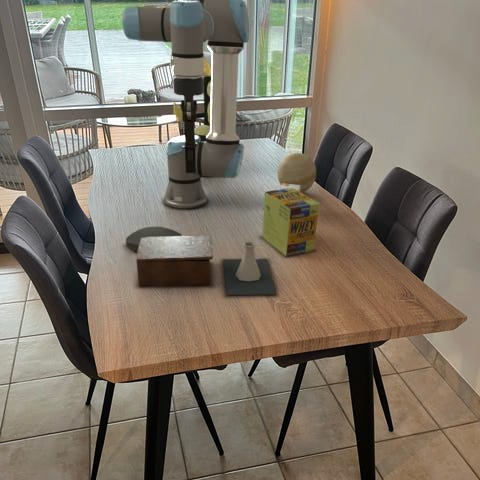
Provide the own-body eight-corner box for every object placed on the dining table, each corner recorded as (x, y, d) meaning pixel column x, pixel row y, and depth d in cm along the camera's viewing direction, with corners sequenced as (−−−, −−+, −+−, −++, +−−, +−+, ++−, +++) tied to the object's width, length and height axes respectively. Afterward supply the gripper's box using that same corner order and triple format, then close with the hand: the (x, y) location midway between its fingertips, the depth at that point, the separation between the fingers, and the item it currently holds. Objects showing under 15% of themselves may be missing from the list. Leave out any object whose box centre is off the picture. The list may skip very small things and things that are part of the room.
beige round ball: (321, 195, 198) (326, 157, 189) (288, 201, 192) (291, 161, 183) (301, 183, 209) (304, 146, 200) (269, 188, 203) (271, 150, 194)
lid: (211, 237, 145) (211, 235, 145) (212, 259, 134) (212, 256, 134) (140, 239, 144) (140, 237, 143) (136, 261, 133) (136, 259, 133)
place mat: (223, 260, 151) (223, 259, 151) (266, 260, 152) (266, 259, 152) (226, 296, 135) (226, 294, 134) (275, 295, 136) (275, 294, 135)
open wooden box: (208, 263, 150) (208, 239, 145) (209, 285, 139) (209, 261, 134) (143, 263, 148) (140, 239, 144) (139, 286, 137) (136, 261, 133)
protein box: (286, 257, 154) (290, 208, 145) (261, 237, 165) (264, 191, 156) (314, 250, 158) (320, 203, 149) (288, 231, 169) (292, 186, 161)
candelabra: (174, 171, 216) (169, 53, 190) (204, 159, 232) (203, 48, 206) (211, 180, 208) (210, 58, 182) (239, 167, 224) (242, 52, 198)
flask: (234, 269, 146) (235, 238, 140) (259, 269, 146) (261, 237, 141) (236, 282, 140) (237, 250, 134) (262, 282, 140) (264, 249, 135)
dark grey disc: (158, 259, 150) (157, 250, 149) (121, 247, 156) (120, 238, 155) (187, 242, 161) (187, 233, 159) (151, 230, 167) (150, 222, 165)
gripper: (173, 71, 128) (177, 164, 141) (171, 80, 117) (176, 180, 131) (203, 71, 129) (204, 164, 142) (204, 81, 118) (205, 180, 131)
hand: (190, 172), depth 136 cm, fingers closed
